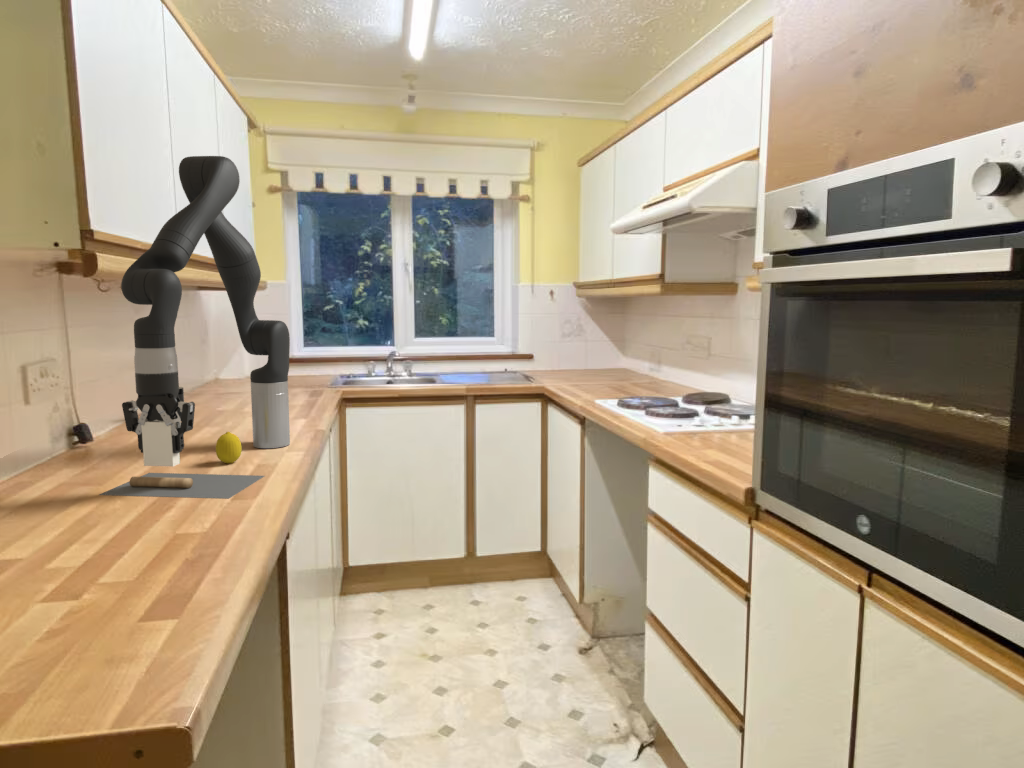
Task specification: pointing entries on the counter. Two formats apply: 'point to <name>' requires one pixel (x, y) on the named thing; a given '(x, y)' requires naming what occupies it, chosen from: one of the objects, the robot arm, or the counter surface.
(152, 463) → the tile
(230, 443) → the lemon
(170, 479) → the dowel
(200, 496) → the mat
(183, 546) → the counter surface
